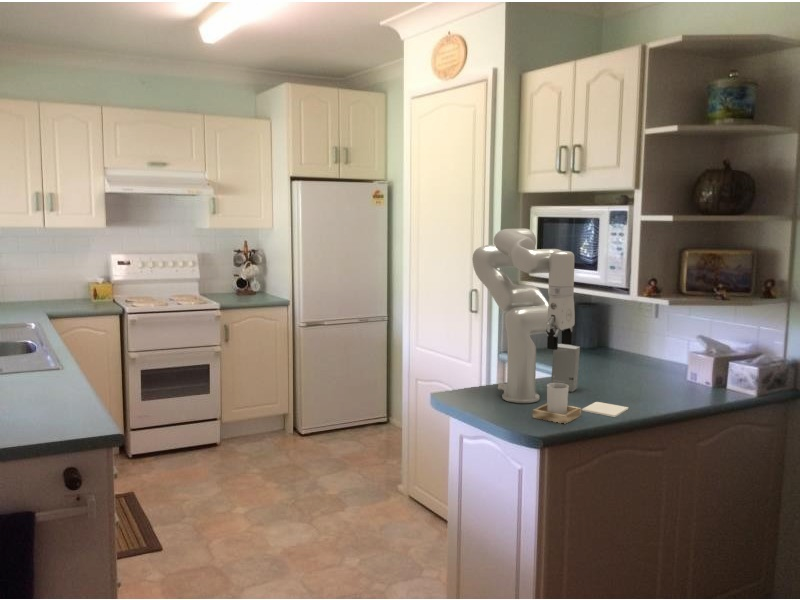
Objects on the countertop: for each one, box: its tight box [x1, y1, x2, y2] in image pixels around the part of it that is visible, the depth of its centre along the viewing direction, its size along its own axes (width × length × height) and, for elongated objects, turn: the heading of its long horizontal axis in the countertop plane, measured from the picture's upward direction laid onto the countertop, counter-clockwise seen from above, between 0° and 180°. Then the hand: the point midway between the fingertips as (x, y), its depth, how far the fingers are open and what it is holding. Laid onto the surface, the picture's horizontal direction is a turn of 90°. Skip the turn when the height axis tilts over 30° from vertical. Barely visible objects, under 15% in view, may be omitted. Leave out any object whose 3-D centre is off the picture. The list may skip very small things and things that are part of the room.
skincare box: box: [550, 343, 581, 393], centre depth 256 cm, size 8×7×16 cm
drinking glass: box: [546, 382, 569, 415], centre depth 224 cm, size 7×7×10 cm
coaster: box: [581, 401, 629, 418], centre depth 231 cm, size 11×11×1 cm
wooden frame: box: [532, 402, 582, 425], centre depth 224 cm, size 11×11×2 cm
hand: (559, 346), depth 221 cm, fingers open, 9 cm apart
